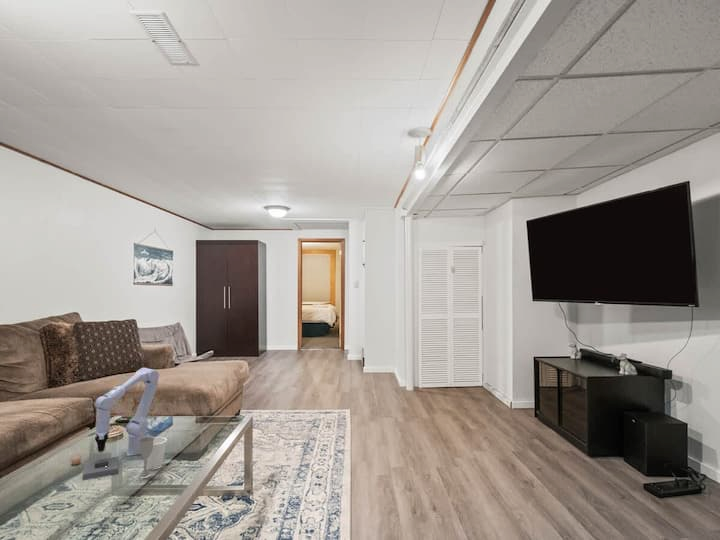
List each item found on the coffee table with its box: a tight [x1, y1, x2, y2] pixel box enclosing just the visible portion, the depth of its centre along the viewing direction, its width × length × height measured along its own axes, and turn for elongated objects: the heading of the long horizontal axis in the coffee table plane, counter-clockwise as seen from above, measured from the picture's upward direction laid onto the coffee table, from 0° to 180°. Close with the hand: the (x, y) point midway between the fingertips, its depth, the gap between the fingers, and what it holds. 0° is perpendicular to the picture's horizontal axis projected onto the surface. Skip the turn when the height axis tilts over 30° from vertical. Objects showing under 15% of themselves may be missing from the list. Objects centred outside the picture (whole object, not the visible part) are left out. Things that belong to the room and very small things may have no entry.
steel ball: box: [95, 445, 107, 454], centre depth 201 cm, size 4×4×4 cm
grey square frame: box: [82, 456, 119, 480], centre depth 197 cm, size 14×14×2 cm
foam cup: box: [146, 436, 168, 470], centre depth 203 cm, size 10×9×13 cm
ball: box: [70, 455, 82, 466], centre depth 202 cm, size 4×4×4 cm
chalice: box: [138, 435, 155, 477], centre depth 193 cm, size 7×7×18 cm
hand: (101, 448), depth 201 cm, fingers closed on steel ball, 4 cm apart
